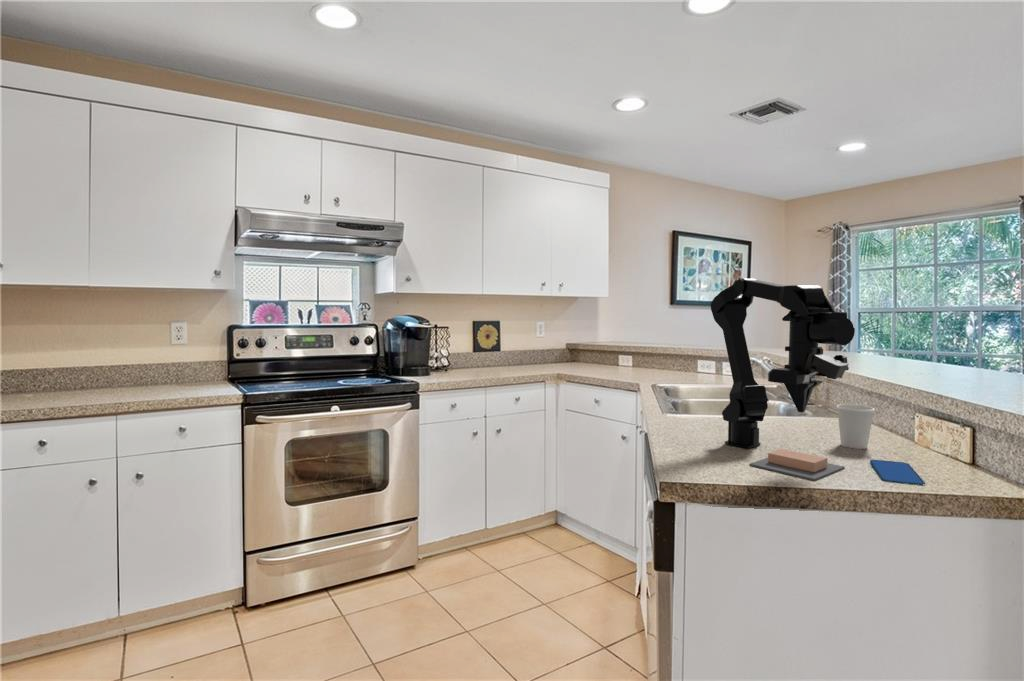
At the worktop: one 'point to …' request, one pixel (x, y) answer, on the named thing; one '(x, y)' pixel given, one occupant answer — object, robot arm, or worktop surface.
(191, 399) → the worktop surface
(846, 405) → the dixie cup
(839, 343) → the robot arm
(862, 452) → the worktop surface
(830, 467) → the mat
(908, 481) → the smartphone
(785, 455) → the block
